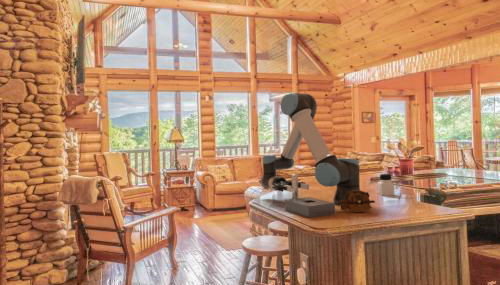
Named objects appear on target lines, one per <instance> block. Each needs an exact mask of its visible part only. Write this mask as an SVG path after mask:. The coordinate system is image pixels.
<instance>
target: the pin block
mask: <svg viewBox="0 0 500 285" xmlns="http://www.w3.org/2000/svg"><path fill="white" fill-rule="evenodd" d="M285 211H287V212H290V213H293V214H296V215H300V216H303V217H305V218H308V219H310V218H317V217H323V216H333V215H335V214H336V204H335V203H334V202H333V201H328V200H324V199H321V198H320V199H318V198H315V197H312V196H309V197H301V198H300V197H299V198H298V199H292V198H290V199H285Z"/></svg>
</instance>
